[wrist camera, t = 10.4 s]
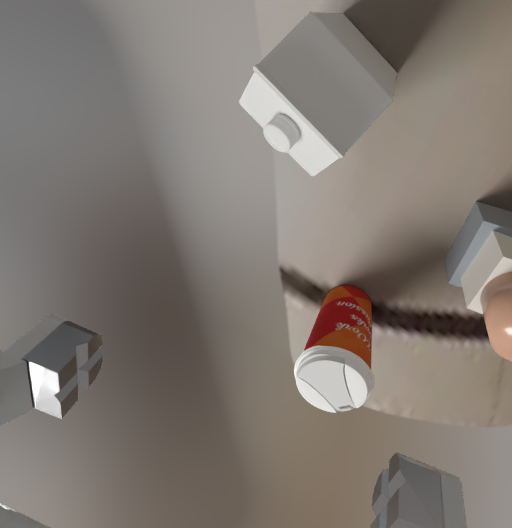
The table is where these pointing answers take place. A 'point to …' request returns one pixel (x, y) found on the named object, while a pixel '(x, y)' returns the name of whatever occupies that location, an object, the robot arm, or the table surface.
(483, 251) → the tower top block
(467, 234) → the tower base block
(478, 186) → the table surface
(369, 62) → the milk carton
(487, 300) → the peach rounded cylinder
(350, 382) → the paper cup
